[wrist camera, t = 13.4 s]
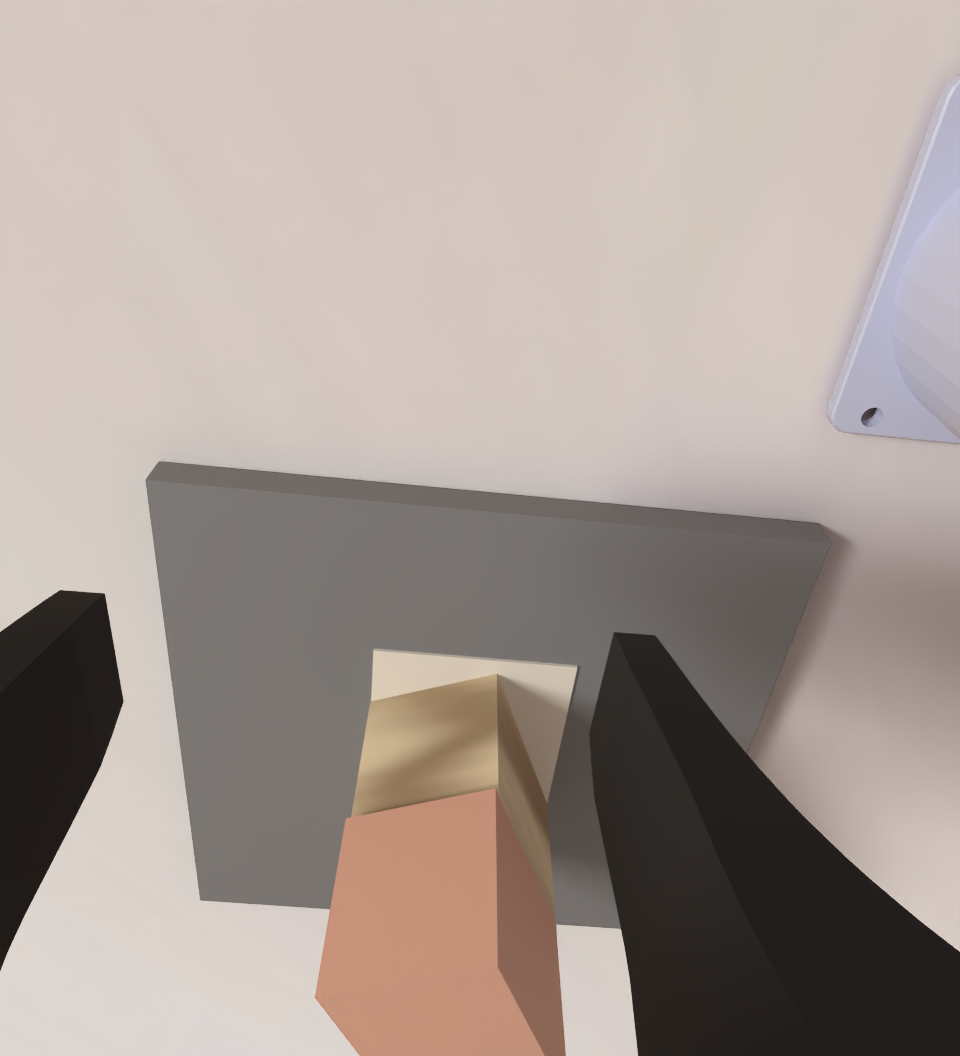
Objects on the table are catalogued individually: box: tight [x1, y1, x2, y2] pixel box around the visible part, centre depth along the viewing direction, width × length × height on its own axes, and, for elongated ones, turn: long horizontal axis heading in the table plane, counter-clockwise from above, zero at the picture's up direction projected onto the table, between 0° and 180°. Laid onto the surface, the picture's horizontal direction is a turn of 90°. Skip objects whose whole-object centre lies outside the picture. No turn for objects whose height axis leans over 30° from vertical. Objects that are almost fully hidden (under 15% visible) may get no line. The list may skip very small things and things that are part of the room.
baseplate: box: [146, 462, 831, 929], centre depth 27 cm, size 18×18×1 cm
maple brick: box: [351, 674, 556, 923], centre depth 24 cm, size 4×6×4 cm, turn 17°
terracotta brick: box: [315, 788, 566, 1056], centre depth 20 cm, size 4×6×4 cm, turn 17°
